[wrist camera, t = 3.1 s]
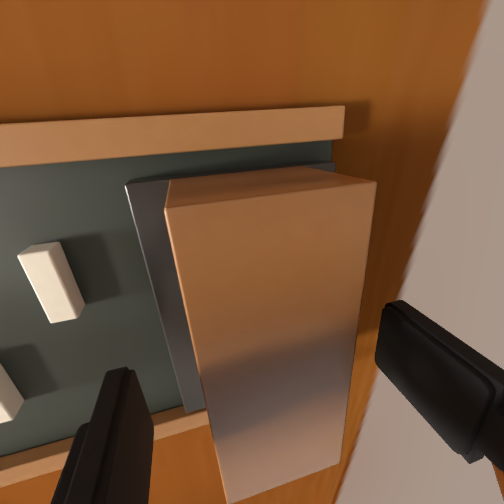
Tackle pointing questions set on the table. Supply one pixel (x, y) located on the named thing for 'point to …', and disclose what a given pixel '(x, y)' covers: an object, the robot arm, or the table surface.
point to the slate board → (109, 258)
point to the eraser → (260, 307)
